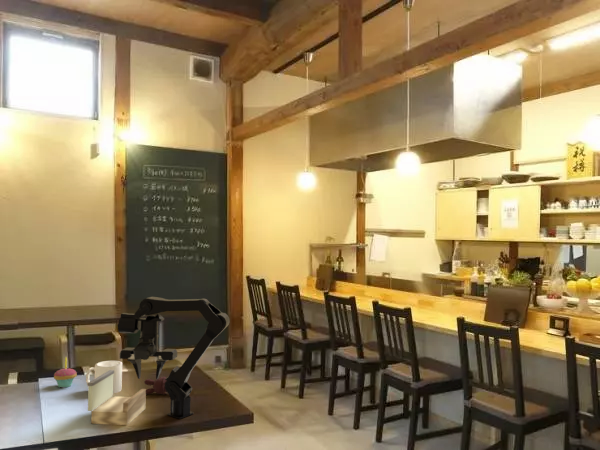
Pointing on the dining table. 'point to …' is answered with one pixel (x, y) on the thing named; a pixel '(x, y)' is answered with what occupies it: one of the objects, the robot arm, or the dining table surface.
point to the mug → (105, 367)
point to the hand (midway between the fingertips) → (148, 378)
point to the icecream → (156, 385)
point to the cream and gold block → (119, 409)
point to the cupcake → (65, 376)
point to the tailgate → (100, 390)
